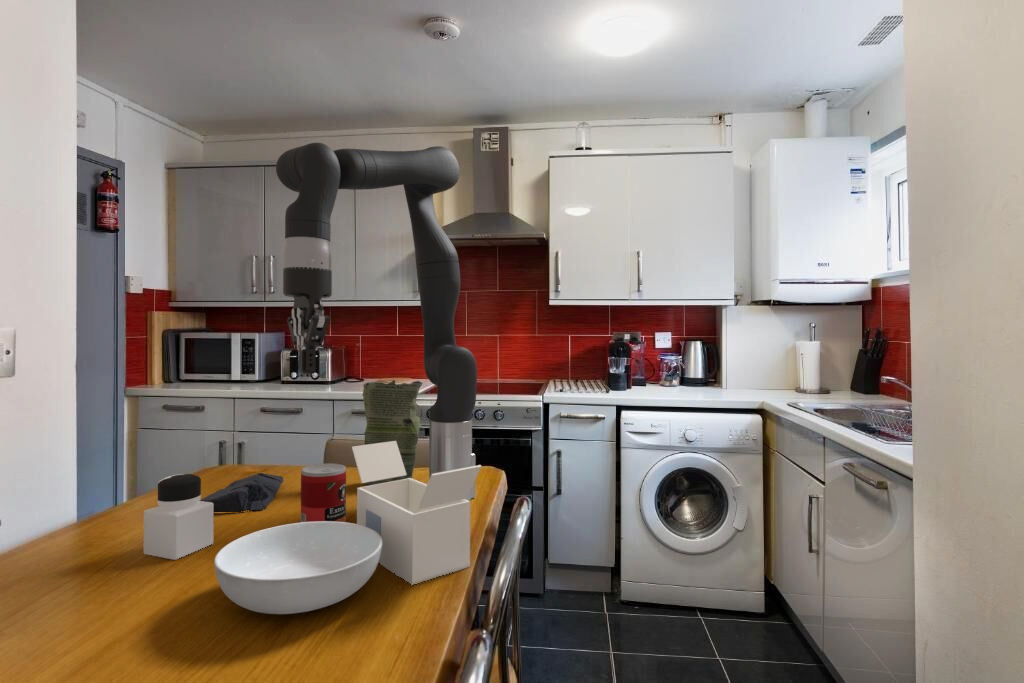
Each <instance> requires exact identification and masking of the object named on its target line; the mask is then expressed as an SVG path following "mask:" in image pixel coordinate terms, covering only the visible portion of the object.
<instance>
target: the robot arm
mask: <svg viewBox="0 0 1024 683" xmlns="http://www.w3.org/2000/svg"><path fill="white" fill-rule="evenodd" d="M275 164H276V165H275V171H276V176H277V177H278V180H279V181H280V182H281V185H283V186H285V188H287V189H289V191H292V192H295V193H298V195H297V198H296V199H295V201H293V202H292V203H290V204H289V205H288V206H286V210H285V216H284V238H285V239H284V245H283V246H284V247H283V255H282V256H283V257H282V260H283V261H282V265H283V266H282V271H283V272H282V286H283V287H282V294H283V295H284V296H285V297H288V298H293V300H294V301H293V306H292V309H291V317H290V316H289V317H288V318H287V320H286V321H287V325H288V328H289V332H290V337H291V341H292V344H293V347H296V349H297V351H298V352H299V353H298V360H299V361H298V371H299V373H300V374H306V375H308V374H315V373H316V370H317V367H316V366H317V362H316V361H317V358H316V357H317V356H316V354H317V353H316V352H317V351H318V348H320V347H322V346H323V343H324V340H325V337H326V333H327V330H328V327H329V324H330V321H331V320H330V316H329V315H324V314H325V310H324V305H323V299H329V298H331V297H332V294H333V293H332V292H333V284H332V283H333V255H332V254H333V253H332V246H331V244H332V243H331V234H332V232H331V230H332V229H331V225H332V224H331V218H332V217H331V216H332V214H333V210H334V206H335V202H336V199H337V194H338V190H351V191H354V190H355V191H356V190H357V191H358V190H360V191H361V190H375V189H384V188H389V187H396V186H401V185H403V189H404V194H405V199H406V203H407V204H406V205H407V207H408V208H407V209H408V213H409V218H410V224H411V233H412V238H413V247H414V255H415V257H414V258H415V267H416V268H415V269H416V275H417V277H416V278H417V285H418V291H419V298H420V299H419V301H420V308H421V309H420V310H421V316H422V326H423V328H422V329H423V368H424V372H425V374H426V375H425V376H426V377H427V379H428V381H429V382H430V383H432V384H433V385H434V386H436V387H437V393H436V394H437V395H436V400H435V402H434V403H433V404H432V405H431V407H430V408H429V416H428V417H429V425H428V426H429V428H428V429H429V430H428V431H429V433H428V435H429V438H428V440H429V442H428V443H429V446H428V447H429V448H428V451H429V452H428V454H429V455H428V457H429V458H428V460H429V462H428V465H429V466H428V480H429V479H430V476H431V474H434V473H439V472H445V471H450V470H456V469H461V468H466V467H472V466H476V461H477V460H476V454H475V453H473V449H472V448H473V444H472V443H473V429H472V428H473V412H474V410H475V407H476V403H477V401H476V400H477V383H478V367H477V361H476V358H475V356H474V354H473V353H472V352H471V351H470V350H469V349H468V348H466V347H463V346H458V345H457V341H456V333H455V315H456V311H457V306H458V303H459V297H460V292H461V282H462V281H461V271H460V262H459V255H458V251H457V250H456V248H455V246H454V244H453V243H452V241H451V239H450V238H449V237H448V235H447V234H446V232H445V230H444V229H443V228H442V226H441V224H440V223H439V221H438V217H437V214H436V209H435V204H434V195H435V194H438V193H443V192H447V191H448V190H450V189H452V188H454V187H455V185H456V184H457V183H458V181H459V178H460V166H459V162H458V160H457V158H456V156H455V155H454V153H453V152H452V151H451V150H450V149H448V148H447V147H444V146H442V145H441V146H437V145H436V146H435V145H434V146H429V147H428V148H424V149H417V150H379V149H378V150H377V149H375V150H374V149H362V148H361V149H360V148H340V149H334V150H333V149H332V148H331V147H330V146H328V145H327V144H324V143H322V142H311V143H308V144H305V145H301V146H297V147H294V148H291V149H287V150H285V151H284V152H283V153H282V154H280V155H279V157H278V159H277V161H276V163H275ZM474 498H476V480H475V481H474V484H473V486H472V488H471V490H470V492H469V494H468V496H467V499H466V500H468V501H470V500H472V499H474Z"/></svg>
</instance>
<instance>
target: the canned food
mask: <svg viewBox="0 0 1024 683" xmlns="http://www.w3.org/2000/svg"><path fill="white" fill-rule="evenodd" d="M346 468H347V467H346V465H343V464H339V463H317V464H315V463H314V464H311V465H307V466H305V467H302V468H301V472H300V523H301V522H315V521H335V522H346V521H347V520H346V518H347V516H346V515H347V513H346V512H347V469H346Z"/></svg>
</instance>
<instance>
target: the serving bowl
mask: <svg viewBox="0 0 1024 683" xmlns="http://www.w3.org/2000/svg"><path fill="white" fill-rule="evenodd" d="M381 550H382V538H381V536H380V535H379V534H378V533H377V532H376V531H374V530H372V529H370V528H368V527H365V526H362V525H358V524H357V523H353V522H352V523H351V522H335V521H315V522H301V521H300V522H294V523H288V524H281V525H277V526H273V527H269V528H265V529H261V530H257V531H254V532H251V533H248V534H246V535H244V536H241V537H238V538H237V539H234V540H233V541H231V542H229V543H228V544H226V545H225V546H224V547H222V548H221V549H220V550H219V551H218V552H217V553H216V555H215V556H214V560H213V561H214V562H213V566H214V570H215V571H214V572H215V576H216V580H217V583H218V585H219V586H220V589H221V591H222V592H223V593H224V595H225V596H226V597H227V598H228V599H229V600H231V602H233V603H235V604H236V605H238V606H240V607H241V608H243V609H245V610H249V611H251V612H255V613H260V614H268V615H290V614H291V615H293V614H299V613H308V612H311V611H315V610H319V609H323V608H326V607H328V606H332V605H334V604H337V603H339V602H341V601H343V600H345V599H347V598H349V597H350V596H352V595H353V594H355V593H356V592H358V590H361V588H362V587H363V586H364V585H365V584H366V583H368V581H369V580H370V578H371V577H372V576H373V575H374V572H376V569H377V567H378V564H379V563H378V562H379V559H380V555H381Z"/></svg>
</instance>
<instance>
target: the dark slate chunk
mask: <svg viewBox="0 0 1024 683" xmlns="http://www.w3.org/2000/svg"><path fill="white" fill-rule="evenodd" d="M282 483H284V477H283V476H281V475H275V474H274V475H273V474H269V473H264V472H258V473H255V474H252V475H250V476H249V475H248V476H247V477H244V478H240V479H238V480H235V481H233V482H230V484H228V485H227V486H226V487H224V488H221V489H219V490H216V491H215V492H213V493H211V494H209V495H207V496H205V497H203V498H201V499H200V500H199V501H204V502H211V503H213V504H214V512H241V511H246V510H249V511H252V510H261V511H264V510H263V509H265V510H266V509H267V508H266V507H268V506H269V505H270V504H271V502H272V501H273V500H274V498H276V497H275V496H276V495H277V493H278V492H279V489H280V488H281V485H282ZM252 512H253V511H252ZM241 513H242V512H241Z"/></svg>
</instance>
